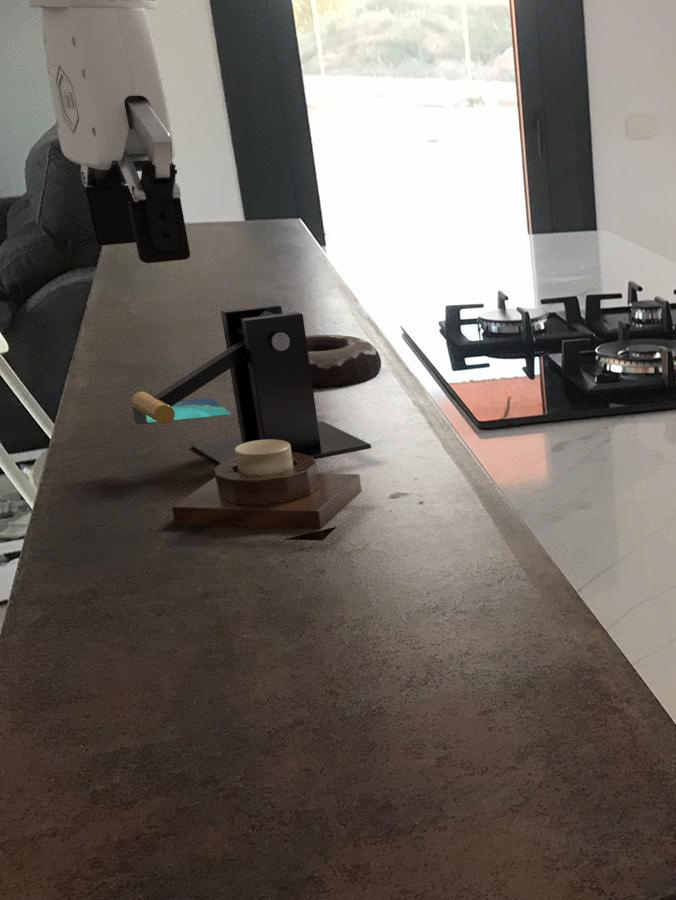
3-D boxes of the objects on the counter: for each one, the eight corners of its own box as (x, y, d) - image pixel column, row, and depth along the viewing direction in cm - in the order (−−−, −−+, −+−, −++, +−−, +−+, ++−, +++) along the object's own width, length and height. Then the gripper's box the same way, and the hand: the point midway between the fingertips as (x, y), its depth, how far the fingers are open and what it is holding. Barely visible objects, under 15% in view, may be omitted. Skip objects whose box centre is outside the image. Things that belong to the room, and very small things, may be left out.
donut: (264, 372, 129) (258, 333, 128) (385, 367, 132) (381, 329, 131) (249, 401, 119) (242, 359, 118) (381, 396, 122) (376, 354, 120)
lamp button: (229, 478, 88) (225, 453, 87) (251, 462, 91) (247, 438, 90) (281, 479, 88) (277, 454, 87) (301, 463, 91) (298, 439, 90)
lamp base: (177, 537, 87) (166, 481, 86) (229, 498, 94) (220, 446, 93) (322, 541, 87) (314, 485, 85) (363, 502, 94) (356, 450, 93)
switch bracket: (236, 486, 97) (211, 330, 92) (193, 458, 103) (166, 311, 98) (372, 458, 104) (355, 312, 99) (324, 434, 110) (305, 295, 105)
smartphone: (319, 407, 115) (133, 424, 108) (320, 415, 115) (135, 433, 109) (307, 389, 121) (130, 404, 114) (308, 396, 121) (132, 413, 114)
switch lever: (166, 433, 94) (146, 406, 93) (142, 419, 98) (123, 393, 96) (301, 344, 99) (284, 317, 98) (275, 333, 103) (258, 307, 101)
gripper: (-8, -16, 87) (49, 242, 94) (66, -20, 76) (125, 274, 83) (110, -13, 92) (156, 232, 99) (196, -16, 80) (241, 262, 87)
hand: (141, 251), depth 91 cm, fingers open, 9 cm apart
